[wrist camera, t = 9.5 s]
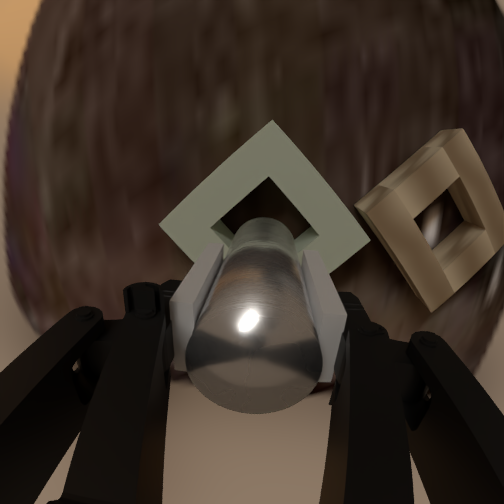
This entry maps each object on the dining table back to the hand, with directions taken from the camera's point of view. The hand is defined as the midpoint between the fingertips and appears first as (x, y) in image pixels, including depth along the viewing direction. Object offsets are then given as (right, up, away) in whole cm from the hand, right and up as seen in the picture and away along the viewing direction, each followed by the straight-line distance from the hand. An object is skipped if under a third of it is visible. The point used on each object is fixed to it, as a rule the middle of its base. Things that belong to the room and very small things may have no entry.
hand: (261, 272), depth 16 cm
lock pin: (0, +1, +4) cm, 5 cm away
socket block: (+1, +4, +12) cm, 13 cm away
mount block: (+17, +5, +11) cm, 21 cm away
